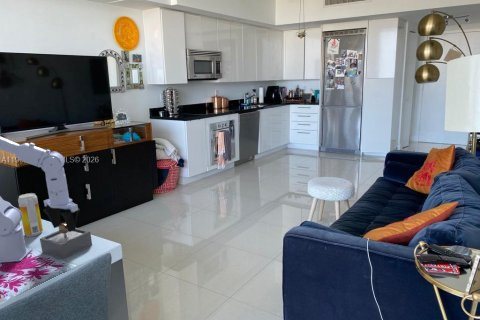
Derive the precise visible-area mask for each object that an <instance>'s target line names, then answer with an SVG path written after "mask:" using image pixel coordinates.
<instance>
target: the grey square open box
mask: <svg viewBox="0 0 480 320" xmlns="http://www.w3.org/2000/svg"><path fill="white" fill-rule="evenodd" d="M73 231H74V232H78V233H82V234H81V235H79V236H77V237H74V238H72V239H70V240H68V241H66V242H64V243H59V242H55V241H52V240H48V239H49V238H51V237H53V236H56V235H58V234H60V232H59V230H56V231H53V232H52V233H50V234H47V235H45V236H43V237H40V238H39V243H40V246H41V247H40V248H41V252H42V253H43V254H45V255H46V254H47V255H49V256H51V257H52V256H53V257H54V258H55V257H56V258H58V259H62V260H66V259H67V258H69V257H71V256H73V255H74V254H77V253H79V252H81V251H83V250H85V249H87V248H89V247H91V246H92V245H93V241H92V234H91V231H90V230H87V229H82V228H78V227H76V228H75V230H73Z"/></svg>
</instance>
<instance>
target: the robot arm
mask: <svg viewBox="0 0 480 320" xmlns="http://www.w3.org/2000/svg"><path fill="white" fill-rule="evenodd" d="M0 151H2V152H3V151H4V152H6V153H10V154H12V155H15V158H17V160H19V161H21V162H24V163H26V164H29V165H32V166H35V167H37V168H41V170H42V171H43V172H44V173H45V181H46V187H47V193H48V199H45V200H43V204H44V207H45V208H43V209H42V210H43V213H44V214H45V215H46V216H47V217H48V219H49V221H50V223H51V225H52V227H53V228H54V229H56V228H59V226H58V225H59V224H62V221H61V220H62V219H61V216H62V217H63V220H64V223H66V225H67V229H68V231H69V232H71V231H73V230H75V228H77V220H78V216H79V214H80V211H81V210H80V208H79V207H78V204H76V203H74V202H73V199H72V198H70V196H69V189H68V184H67V183H68V182H67V177H66V173H65V168H64V165H65V161H66V160H65V157H64V156H63V154H62V153H60V152H58V151H51V150H50V149H45V148H41V147H38V146H36V144H35V143H34V142H30V143H28V142H25V143H22V144H19V143H17V142H15V141H12V140H10V139H8V138H5V137H3V136H0ZM61 210H65V211H63V212H61ZM21 222H22V213H21V211H20V208H17V207H15V206H13V205H12V204H11V203H10V202H9V201H7V200H4V199H3V198H2V196H0V264H1V263H12V262H14V263H15V262H21V261H23V259H25V257H26V256H27V255H29V253H31V252H32V251H33V248H32V247H31V248H27V247H26V245H27V244H26V241H25V237H24V235H25V234H24V229H23V225H21Z"/></svg>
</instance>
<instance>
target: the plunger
mask: <svg viewBox="0 0 480 320" xmlns="http://www.w3.org/2000/svg"><path fill="white" fill-rule="evenodd" d="M58 226H59V227H58V231H59V232H60V234H58V235H56V236H53V237H51V238H49V239H48V240H52V241H55V242H59V243H64V242H66V241H68V240H70V239H72V238H74V237H77V236H79V235H81V234H82V233H78V232H74V231H71V232H69V231H68V229H67V225H66V222H61V224H59V225H58Z"/></svg>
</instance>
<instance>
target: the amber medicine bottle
mask: <svg viewBox="0 0 480 320" xmlns="http://www.w3.org/2000/svg"><path fill="white" fill-rule="evenodd" d="M17 202H18V209H19V210H20V211H21V213H22V219H21V223H22V230H23V235H25V236H26V237H35V236H39V235H40V234H41V233H42V232H43V230H44V229H43V223H42V217H41V212H40V207H39V201H38V196H37V195H36V193H33V192H30V193H25V194H24V193H23V194H20V195H18V198H17Z"/></svg>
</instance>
